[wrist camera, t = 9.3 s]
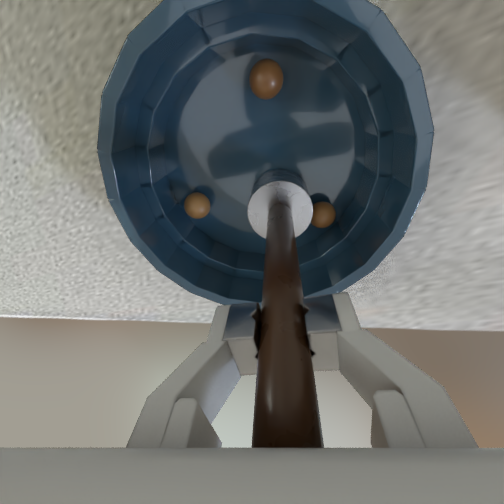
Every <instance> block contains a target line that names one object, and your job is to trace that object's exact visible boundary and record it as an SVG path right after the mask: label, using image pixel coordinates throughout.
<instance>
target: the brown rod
mask: <svg viewBox="0 0 504 504" xmlns="http://www.w3.org/2000/svg"><path fill="white" fill-rule="evenodd" d="M247 216H248V220H249V223H250V225H251V227H252V228H253V230H254V231H255V232H256V233H257V234H258V235H260V236H261V237H263V238H265V239H266V247H265V262H264V276H263V291H262V305H261V320H260V335H259V348H258V363H257V378H256V393H255V406H254V422H253V436H252V448H324V444H323V437H322V430H321V422H320V415H319V408H318V400H317V394H316V385H315V378H314V371H313V363H312V356H311V349H309V344H308V337H307V329H306V322H305V314H304V307H303V299H302V297H303V290H302V283H301V275H300V268H299V261H298V253H297V246H296V239H295V238H296V237H298V236H300V235H301V234H302V233H303V232H304V231H305V230H306V229H307V228H308V226H309V225H310V223H311V220H312V217H313V204H312V201H311V198H310V195H309V192H308V189H307V186H306V184H305V182H304V181H303V179H302V178H301V177H300V176H299V175H298V174H296V173H294V172H292V171H290V170H286V169H275V170H271V171H269V172H266V173H265V174H263V175H262V176H261V177H260V178H259V179H258V180H257V181H256V182H255V184H254V186H253V188H252V192H251V195H250V199H249V203H248V208H247Z"/></svg>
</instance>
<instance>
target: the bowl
mask: <svg viewBox="0 0 504 504" xmlns="http://www.w3.org/2000/svg"><path fill="white" fill-rule="evenodd" d="M267 58H268V59H272V60H274V61H276V62H277V63H278V64H279V66H280V67H281V69H282V72H283V84H282V88H281V90H280V91H279V93H278V94H277V95H276V96H275V97H273V98H271V99H268V100H264V99H260V98H258V97H257V96H256V95H255V94H254V93H253V92H252V90H251V87H250V83H249V76H250V72H251V69H252V68H253V66H254V65H255V64H256V63H257V62H258V61H259V60H262V59H267ZM102 93H103V94H102V96H101V108H100V120H99V132H98V144H97V149H98V151H97V152H98V157H99V161H100V166H101V171H102V175H103V180H104V184H105V189H106V193H107V198H108V199H109V202H110V204H111V206H112V208H113V210H114V212H115V214H116V216H117V217H118V219H119V221H120V223H121V225H122V227H123V229H124V231H125V232H126V234H127V236H128V238H129V239H130V241H131V242H132V243H133V245H134V246H135V247H136V248H137V249H138V250H139V251H140V252H141V253H142V254H143V255H144V257H145V258H146V259H147V260H148V261H149V262H150V263H151V264H152V265H153V266H154V267H155V268H156V270H158V271H159V272H160V273H162V274H163V275H165V276H166V277H168V278H169V279H171V280H172V281H174V282H175V283H177V284H178V285H180V286H181V287H183V288H184V289H186V290H187V291H189V292H191V293H193V294H195V295H198V296H201V297H203V298H206V299H209V300H211V301H214V302H217V303H220V304H222V305H231V304H242V303H254V302H258V303H259V305H260V308H261V305H262V291H263V276H264V262H265V247H266V239H265V238H263V237H261V236H260V235H258V234H257V233H256V232H255V231H254V230H253V228H252V227H251V225H250V223H249V220H248V216H247V208H248V203H249V199H250V195H251V192H252V188H253V186H254V184H255V182H256V181H257V180H258V179H259V178H260V177H261V176H262V175H263V174H265V173H266V172H269V171H271V170H275V169H286V170H290V171H292V172H294V173H296V174H298V175H299V176H300V177H301V178H302V179H303V181H304V182H305V184H306V186H307V189H308V192H309V195H310V198H311V201H312V204H313V205H314V204H315V203H317V202H321V201H324V202H328V203H330V204H331V205H332V206H333V207H334V209H335V211H336V217H335V220H334V222H333V223H332V224H331V225H330V226H328V227H326V228H317V227H315V226H313V225H312V224H311V223H310V225H309V226H308V228H307V229H306V230H305V231H304V232H303V233H302V234H301V235H300V236H298V237H296V238H295V239H296V246H297V253H298V261H299V268H300V275H301V283H302V290H303V297H310V296H318V295H327V294H331V295H332V294H334V293H340V292H342V291H343V290H345V289H346V288H348V287H349V286H351V285H352V284H354V283H355V282H357V281H358V280H360V279H361V278H363V277H364V276H366V275H367V274H369V273H370V272H372V271H373V270H375V268H376V267H377V266H378V265H379V264H380V263H381V262H382V260H383V259H384V258H385V257H386V256H387V255H388V254H389V253H390V251H391V250H392V249H393V248H394V247H395V246H396V245H397V243H398V242H399V241H400V240H401V239H402V238H403V237H404V234H405V233H406V231H407V229H408V227H409V225H410V222H411V220H412V218H413V216H414V214H415V212H416V210H417V208H418V205H419V203H420V201H421V199H422V197H423V195H424V193H425V191H426V187H427V181H428V174H429V166H430V159H431V151H432V144H433V136H434V132H433V131H434V126H433V122H432V117H431V112H430V108H429V103H428V98H427V94H426V89H425V84H424V80H423V75H422V70H421V68H420V65H419V64H418V62H417V61H416V59H415V58H414V56H413V55H412V53H411V52H410V50H409V49H408V47H407V46H406V44H405V43H404V41H403V40H402V38H401V37H400V35H399V34H398V33H397V31H396V30H395V28H394V27H393V25H392V24H391V22H390V21H389V19H388V18H387V16H386V15H385V13H384V12H383V10H381V9H380V8H379V7H377V6H376V5H374V4H372V3H371V2H369V1H367V0H163V1H162V2H161V3H160V4H159V5H158V6H157V7H156V8H155V9H154V10H153V11H152V12H151V13H150V14H149V15H148V16H147V17H146V18H145V19H144V20H143V21H142V22H141V23H140V24H139V25H138V26H137V27H135V28H134V29H133V30H132V31H131V32H130V33H129V34H128V37H127V38H126V40H125V42H124V45H123V47H122V49H121V51H120V54H119V56H118V58H117V60H116V63H115V65H114V67H113V69H112V72H111V74H110V76H109V78H108V81H107V83H106V85H105V87H104V89H103V92H102ZM195 192H198V193H202V194H204V195H205V196H206V197H207V198H208V199H209V201H210V211H209V213H208V214H207V215H206V216H205V217H203V218H200V219H195V218H192V217H190V216H189V215H188V214H187V213H186V211H185V209H184V201H185V199H186V197H187V196H188V195H190V194H192V193H195Z"/></svg>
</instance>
